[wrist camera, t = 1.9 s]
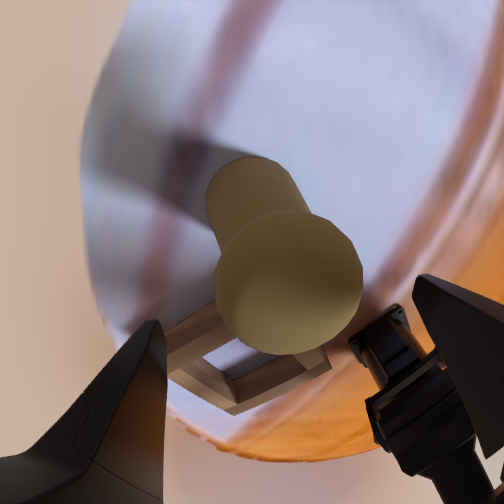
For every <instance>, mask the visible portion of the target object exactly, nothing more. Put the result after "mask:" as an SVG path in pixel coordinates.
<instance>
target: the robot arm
mask: <svg viewBox="0 0 504 504" xmlns="http://www.w3.org/2000/svg"><path fill="white" fill-rule="evenodd" d="M412 299H413V302H414V304H415V306H416V308H417V310H418V312H419V314H420V316H421V318H422V321H423V323H424V325H425V327H426V329H427V331H428V333H429V335H430V337H431V339H432V340H433V342H434V344H435V347H434V349H433V350H432V351H431V352H430V353H429V354H428V355H427V353H426V352H425V350H424V349H423V348H422V346H421V345H420V343H419V342H418V341H417V339H416V338H415V337H414V335H413V334H412V333H411V330H410V327H409V323H408V320H407V317H406V314H405V311H404V308H403V307H402V306H398V307H396V308H395V309H393V310H392V311H391V312H389V313H388V314H386V315H385V316H384V317H382V318H381V319H379V320H378V321H376V322H375V323H373V324H372V325H371V326H369V327H368V328H366V329H365V330H363V331H361V332H360V333H358V334H357V335H355V336H354V337H352V338H351V339H350V340H349V344H350V346H351V348H352V349H353V351H354V352H355V354H356V355H357V356H358V358H359V359H360V361H361V362H362V364H363V365H364V367H365V368H368V369H369V370H370V372H371V374H372V376H373V378H374V380H375V382H376V384H377V386H378V388H379V389H380V391H379V392H378V393H376V394H375V395H373V396H372V397H369V398H367V399H365V403H366V410H367V414H368V417H369V420H370V424H371V427H372V430H373V437H374V442H375V443H376V444H378V445H381V446H382V447H383V449H384V450H385V451H386V452H388V453H391V452H392V453H393V455H394V456H395V458H396V460H397V461H398V464H399V466H400V468H401V470H402V471H403V472H404V473H405V474H407V475H409V476H412V477H413V476H415V475H416V474H418V475H420V476H423V477H426V478H428V479H431V480H432V482H433V483H434V485H435V487H436V489H437V491H438V493H439V495H440V497H441V499H442V501H443V503H444V504H504V464H503V468H502V473H501V477H500V479H501V481H502V484H501V485H499V486H498V487H497V488H496V489H495V490H494V489H493V486H492V484H491V482H490V480H489V478H488V475H487V473H486V472H485V470H484V467H483V465H482V464H481V461H480V459H479V458H478V456H477V454H476V452H475V443H476V435H477V437H478V440H479V442H480V446H481V448H482V451H483V454H484V457H485V459H487V458H489V457H490V456H492V455H493V454H494V453H496V452H497V451H498V450H500V449H501V448H502V447H503V446H504V305H503V304H502V305H501V304H500V303H498V302H496V301H493V300H491V299H489V298H486V297H484V296H482V295H479V294H477V293H475V292H472V291H470V290H467V289H465V288H462V287H460V286H457V285H455V284H452V283H450V282H448V281H445V280H442V279H440V278H437V277H435V276H432V275H430V274H421V275H418V276H417V278H416V280H415V284H414V288H413V291H412ZM444 367H445V369H444V370H443V371H442V369H443V368H444ZM167 386H168V383H167V343H166V338H165V335H164V332H163V330H162V327H161V325H160V322H159V321H158V320H157V319H152V320H146V321H144V322H143V323H142V324H141V326H140V327H139V328H138V329H137V330H136V331H135V332H134V333H133V335H132V336H131V337H130V338H129V339H128V340H127V341H126V342H125V344H124V345H123V346H122V347H121V348H120V349H119V350H118V352H117V353H116V354H115V355H114V356H113V357H112V359H111V360H110V361H109V362H108V363H107V364H106V365H105V367H104V368H103V369H102V370H101V371H100V372H99V374H98V375H97V376H96V377H95V378H94V379H93V381H92V382H91V383H90V384H89V385H88V387H87V388H86V389H85V390H84V393H82V394H81V395H80V396H79V397H78V398H77V400H76V401H75V402H74V403H73V404H72V405H71V407H70V408H69V409H68V410H67V411H66V412H65V413H64V414H63V416H61V417H60V419H59V420H58V421H57V422H56V423H55V424H54V425H53V426H52V427H51V428H50V429H49V430H48V431H47V432H46V433H45V434H44V435H43V436H42V437H41V438H40V439H39V440H38V441H37V442H36V443H35V444H34V445H33V446H32V447H31V448H29V449H28V450H26V451H25V452H23V453H20V454H17V455H13V456H7V457H1V458H0V504H163V459H164V433H165V415H166V401H167Z"/></svg>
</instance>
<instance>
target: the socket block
mask: <svg viewBox="0 0 504 504" xmlns="http://www.w3.org/2000/svg"><path fill="white" fill-rule="evenodd" d="M164 335H165V338H166V343H167V378H169V379H171V380H172V381H174V382H175V383H177V384H178V385H180V386H182V387H183V388H185V389H187V390H188V391H190V392H192V393H193V394H195V395H197V396H198V397H200V398H202V399H204V400H205V401H207V402H209V403H211V404H213V405H214V406H216V407H218V408H220V409H222V410H224V411H226V412H227V413H229V414H231V415H233V416H235V415H237V414H240V413H242V412H245V411H247V410H249V409H252V408H254V407H256V406H259V405H261V404H263V403H265V402H268V401H270V400H272V399H274V398H276V397H278V396H280V395H283V394H285V393H287V392H289V391H291V390H293V389H295V388H297V387H299V386H301V385H303V384H305V383H306V382H308V381H310V380H312V379H314V378H316V377H318V376H319V375H321V374H323V373H325V372H327V371H328V370H330V369H332V367H331V364H330V362H329V360H328V357H327V355H326V353H325V351H324V348H323V346H322V345H320V346H318V347H317V348H314V349H311V350H308V351H304V352H301V353H297V354H287V355H282V356H281V357H279V358H277V359H275V360H273V361H271V362H270V363H268V364H266V365H264V366H262V367H260V368H258V369H256V370H254V371H252V372H250V373H248V374H246V375H244V376H242V377H240V378H238V379H236V380H233V379H231V378H230V377H228V376H227V375H225V374H224V373H223V372H221V371H220V370H218V369H217V368H215V367H214V366H213V365H211V364H210V363H209V362H207V361H206V360H204V359H203V358H202V356H204V355H206V354H208V353H209V352H211V351H213V350H215V349H217V348H218V347H220V346H222V345H224V344H226V343H227V342H229V341H231V340H233V339H234V338H236V336H235V335H234V334H233V333H232V332H231V331H230V330H229V329H228V328H227V327H226V325H225V323H224V320H223V318H222V316H221V314H220V312H219V309H218V307H217V305H216V302H215V301H213V302H211V303H210V304H208V305H207V306H205V307H204V308H202V309H201V310H199V311H197V312H196V313H194V314H193V315H191V316H190V317H188V318H186V319H185V320H183V321H182V322H180V323H179V324H177V325H175V326H174V327H172V328H171V329H169V330H167V331H166V332H164Z"/></svg>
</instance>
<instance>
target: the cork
mask: <svg viewBox="0 0 504 504" xmlns="http://www.w3.org/2000/svg"><path fill="white" fill-rule="evenodd" d="M206 211H207V214H208V217H209V220H210V223H211V226H212V228H213V231H214V234H215V236H216V239H217V242H218V245H219V247H220V250H221V253H222V254H221V257H220V260H219V262H218V265H217V268H216V270H215V302H216V305H217V307H218V309H219V312H220V314H221V316H222V318H223V320H224V323H225V325H226V327H227V328H228V329H229V330H230V331H231V332H232V333H233V334H234V335H235V336H236V337H237V338H238V339H239V340H240V341H241V342H243V343H244V344H246V345H247V346H249V347H251V348H253V349H255V350H258V351H260V352H262V353H268V354H275V355H287V354H297V353H301V352H304V351H308V350H311V349H314V348H317V347H318V346H320V345H322V344H324V343H325V342H327V341H329V340H331V339H332V338H334V337H335V336H336V335H337V334H338V333H339V332H340V331H342V330H343V329H344V328H345V327H346V326H347V325H348V323H349V322H350V320H351V319H352V317H353V316H354V314H355V313H356V311H357V309H358V306H359V303H360V300H361V297H362V291H363V267H362V265H361V262H360V260H359V257H358V255H357V253H356V250H355V248H354V246H353V244H352V242H351V240H350V239H349V238H348V237H347V236H346V235H345V234H343V233H342V232H341V231H340V230H339V229H338V228H337V227H336V226H335V225H334V224H333V223H332V222H330V221H329V220H327V219H324V218H322V217H319V216H317V215H314V214H312V213H311V212H310V210H309V208H308V206H307V204H306V202H305V200H304V199H303V197H302V195H301V193H300V191H299V189H298V188H297V186H296V184H295V182H294V181H293V179H292V177H291V176H290V174H289V172H288V171H287V170H285V169H284V168H283V167H282V166H281V165H279V164H278V163H277V162H274V161H271V160H269V159H266V158H264V157H246V158H242V159H239V160H235V161H232V162H231V163H229V164H228V165H226V166H225V167H223V168H222V169H220V171H219V172H218V173H217V174H216V176H215V177H214V178H213V180H212V181H211V183H210V186H209V188H208V191H207V194H206Z"/></svg>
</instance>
